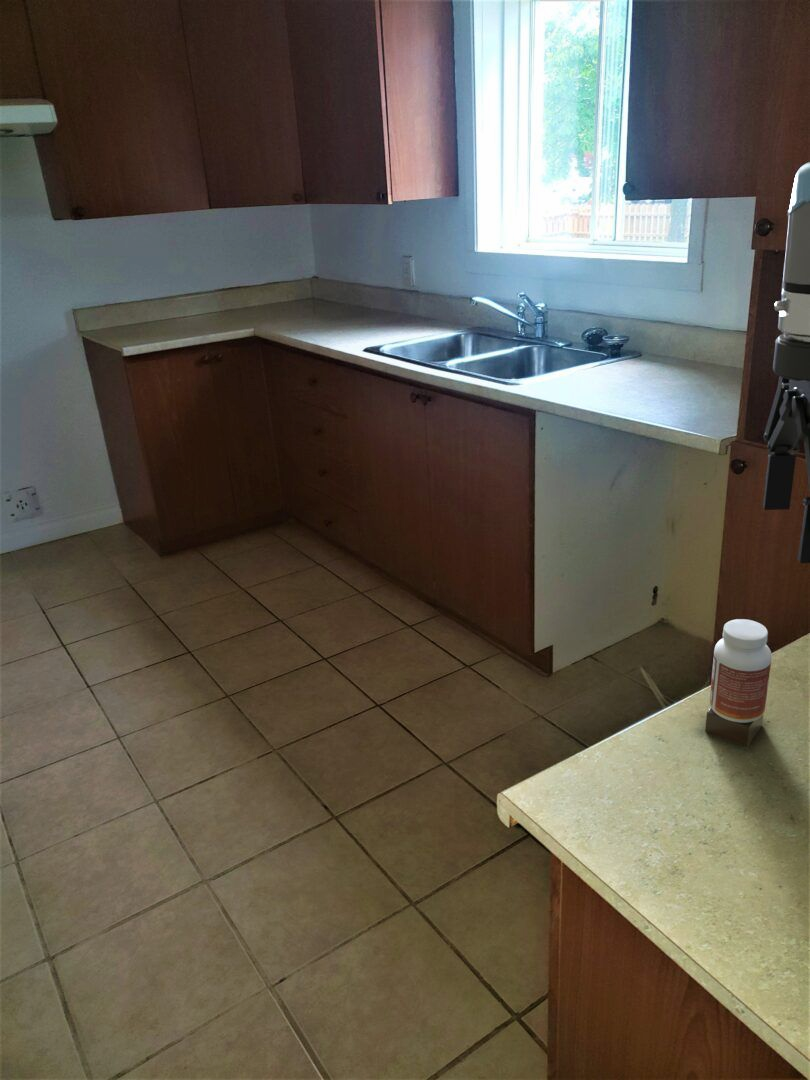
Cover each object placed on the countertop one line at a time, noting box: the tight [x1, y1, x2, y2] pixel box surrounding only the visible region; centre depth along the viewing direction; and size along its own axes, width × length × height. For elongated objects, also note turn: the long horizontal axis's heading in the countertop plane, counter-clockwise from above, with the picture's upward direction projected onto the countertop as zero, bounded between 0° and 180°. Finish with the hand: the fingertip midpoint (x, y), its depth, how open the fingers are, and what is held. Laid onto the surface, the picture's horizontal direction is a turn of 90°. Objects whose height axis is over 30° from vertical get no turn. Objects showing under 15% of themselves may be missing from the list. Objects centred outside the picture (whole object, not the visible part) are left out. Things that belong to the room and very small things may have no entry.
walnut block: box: [704, 707, 764, 748], centre depth 98 cm, size 5×5×3 cm
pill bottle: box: [709, 618, 773, 723], centre depth 95 cm, size 6×6×11 cm
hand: (793, 533), depth 88 cm, fingers open, 13 cm apart
